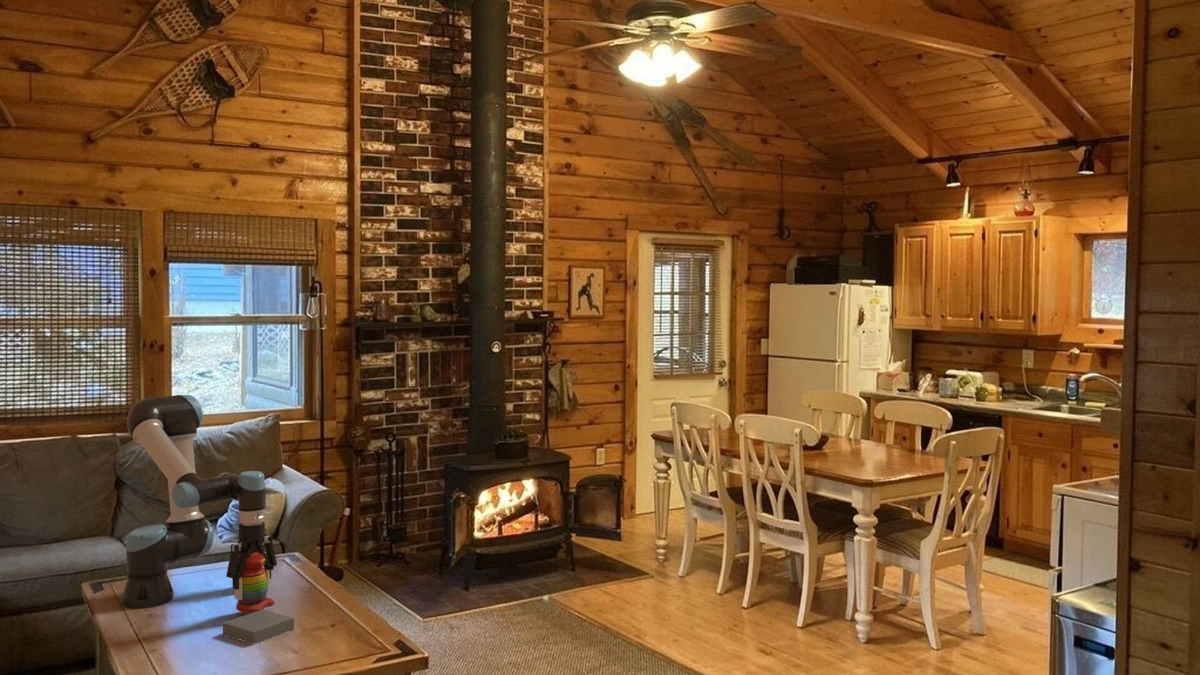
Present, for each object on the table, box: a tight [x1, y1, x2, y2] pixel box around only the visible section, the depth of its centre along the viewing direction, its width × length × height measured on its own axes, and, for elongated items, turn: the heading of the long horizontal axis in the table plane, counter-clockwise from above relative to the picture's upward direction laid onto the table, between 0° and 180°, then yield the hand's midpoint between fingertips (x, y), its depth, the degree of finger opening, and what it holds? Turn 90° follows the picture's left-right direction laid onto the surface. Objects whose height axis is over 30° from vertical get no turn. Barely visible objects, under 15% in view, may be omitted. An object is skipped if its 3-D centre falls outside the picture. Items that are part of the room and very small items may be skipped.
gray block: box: [222, 609, 295, 645], centre depth 286 cm, size 14×14×4 cm
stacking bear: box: [235, 551, 275, 614], centre depth 301 cm, size 11×10×18 cm
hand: (252, 594), depth 301 cm, fingers closed on stacking bear, 9 cm apart
